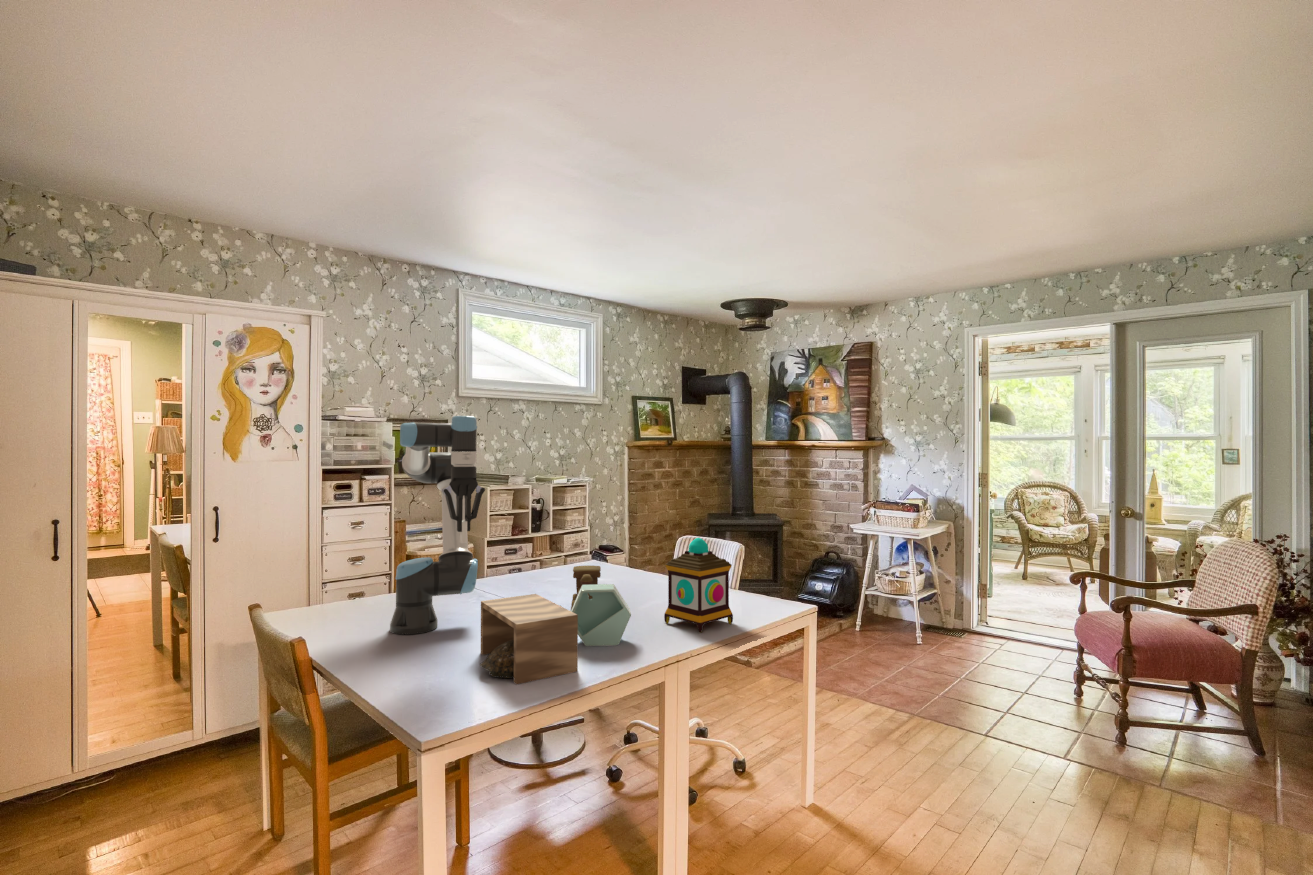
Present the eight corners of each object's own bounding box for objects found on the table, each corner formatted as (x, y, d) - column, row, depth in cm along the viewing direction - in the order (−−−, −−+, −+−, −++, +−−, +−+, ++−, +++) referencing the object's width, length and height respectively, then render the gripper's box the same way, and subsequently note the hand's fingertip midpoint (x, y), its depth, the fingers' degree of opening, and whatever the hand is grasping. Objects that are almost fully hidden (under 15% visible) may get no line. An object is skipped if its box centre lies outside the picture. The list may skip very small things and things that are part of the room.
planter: (595, 660, 194) (558, 605, 194) (595, 652, 202) (560, 599, 201) (640, 629, 196) (604, 574, 195) (639, 622, 203) (604, 569, 203)
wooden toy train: (572, 609, 240) (572, 565, 240) (602, 608, 241) (602, 564, 241) (569, 623, 220) (569, 575, 220) (602, 622, 221) (602, 575, 221)
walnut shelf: (480, 653, 188) (480, 601, 188) (535, 643, 197) (535, 593, 197) (516, 684, 162) (516, 624, 163) (577, 671, 172) (577, 614, 172)
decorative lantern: (658, 623, 220) (658, 537, 221) (696, 613, 234) (696, 532, 234) (700, 635, 205) (700, 543, 206) (738, 623, 219) (738, 537, 220)
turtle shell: (468, 660, 165) (497, 625, 184) (472, 691, 166) (500, 653, 186) (528, 661, 163) (550, 625, 182) (530, 693, 164) (553, 654, 184)
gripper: (445, 466, 187) (445, 545, 187) (488, 465, 194) (488, 541, 194) (439, 465, 193) (438, 542, 193) (480, 465, 200) (480, 539, 200)
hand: (463, 542), depth 193 cm, fingers closed
